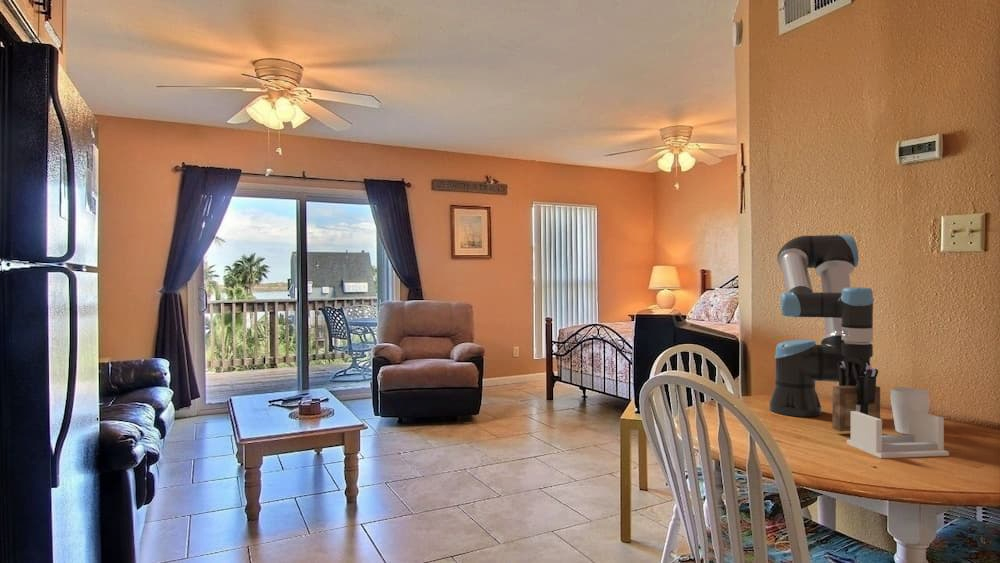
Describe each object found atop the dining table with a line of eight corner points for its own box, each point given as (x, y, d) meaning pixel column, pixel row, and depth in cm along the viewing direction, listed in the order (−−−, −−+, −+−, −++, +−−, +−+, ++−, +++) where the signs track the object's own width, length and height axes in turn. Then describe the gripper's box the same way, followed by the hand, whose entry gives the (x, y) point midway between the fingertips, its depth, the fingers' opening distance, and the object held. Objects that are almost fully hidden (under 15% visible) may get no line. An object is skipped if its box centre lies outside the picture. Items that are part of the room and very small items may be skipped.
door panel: (832, 428, 161) (832, 386, 160) (871, 426, 162) (872, 384, 162) (840, 431, 158) (840, 388, 157) (880, 429, 159) (880, 387, 158)
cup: (936, 437, 155) (936, 394, 155) (899, 436, 157) (899, 393, 157) (919, 429, 164) (919, 387, 164) (884, 427, 166) (884, 386, 166)
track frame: (846, 443, 150) (846, 409, 150) (909, 441, 152) (909, 408, 152) (880, 458, 139) (880, 421, 138) (948, 455, 140) (949, 419, 140)
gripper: (824, 338, 167) (824, 417, 168) (865, 346, 151) (865, 434, 151) (848, 338, 168) (848, 416, 168) (891, 346, 151) (891, 433, 152)
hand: (856, 425), depth 160 cm, fingers closed on door panel, 3 cm apart
